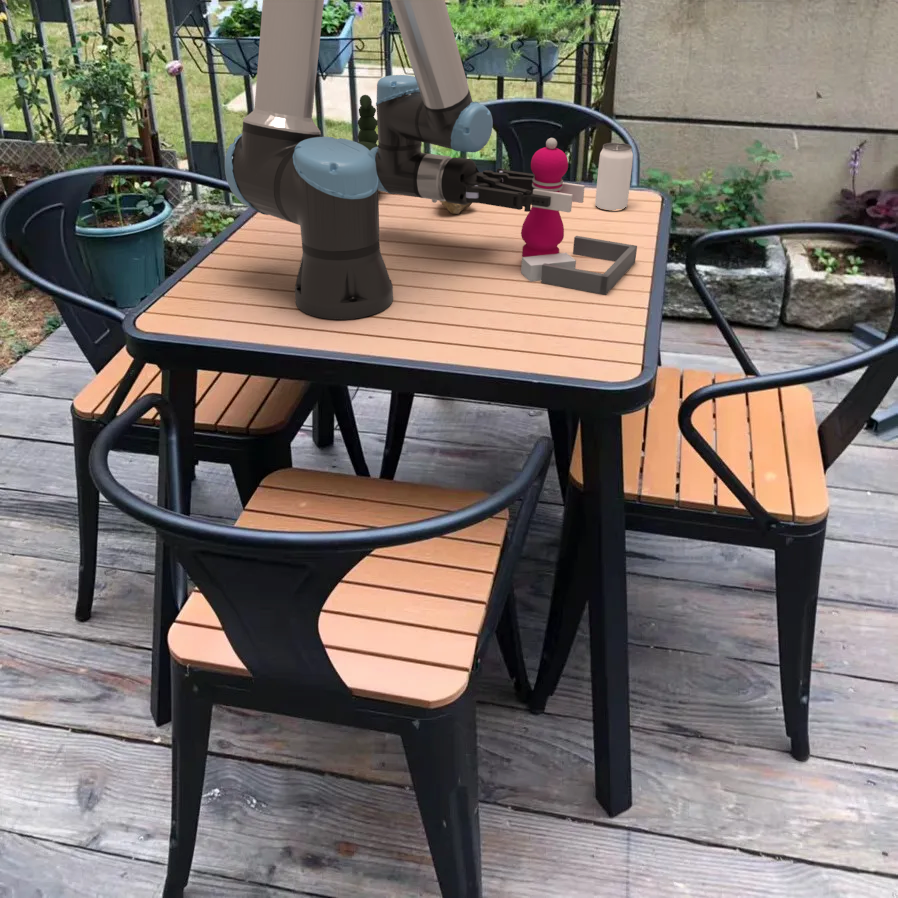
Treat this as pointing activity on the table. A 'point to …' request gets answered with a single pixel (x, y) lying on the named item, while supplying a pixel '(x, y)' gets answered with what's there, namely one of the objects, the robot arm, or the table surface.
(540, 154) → the pepper mill
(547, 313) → the table surface
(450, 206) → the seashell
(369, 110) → the toy figurine
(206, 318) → the table surface
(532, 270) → the white block
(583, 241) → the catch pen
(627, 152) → the can
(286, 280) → the table surface
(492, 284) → the table surface
